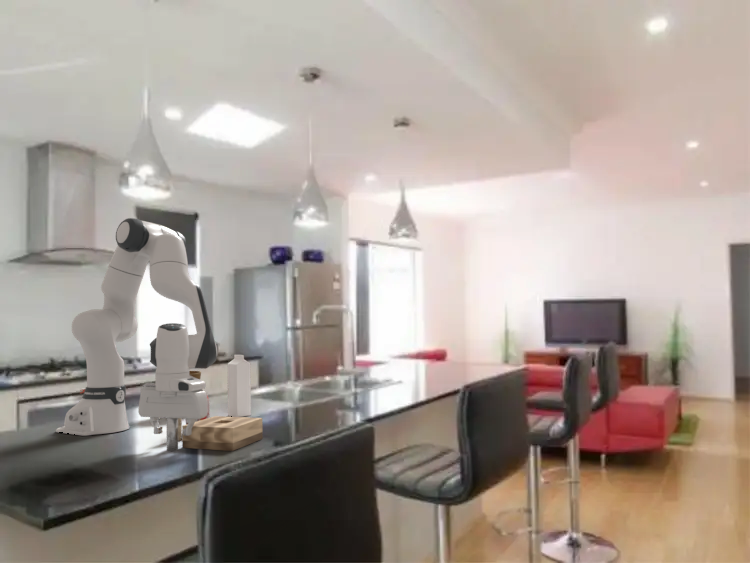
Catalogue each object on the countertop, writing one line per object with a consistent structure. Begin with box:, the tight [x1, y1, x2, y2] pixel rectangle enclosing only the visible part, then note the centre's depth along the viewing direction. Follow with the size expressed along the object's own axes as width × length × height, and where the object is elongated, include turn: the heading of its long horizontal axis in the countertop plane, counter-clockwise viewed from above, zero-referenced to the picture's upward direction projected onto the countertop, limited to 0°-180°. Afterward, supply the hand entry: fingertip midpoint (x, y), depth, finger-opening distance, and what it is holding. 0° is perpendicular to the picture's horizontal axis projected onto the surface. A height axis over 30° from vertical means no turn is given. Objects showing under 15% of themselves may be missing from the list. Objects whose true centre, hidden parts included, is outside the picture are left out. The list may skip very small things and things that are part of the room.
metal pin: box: [166, 418, 179, 452], centre depth 164 cm, size 3×3×10 cm
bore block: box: [181, 415, 264, 452], centre depth 171 cm, size 16×16×6 cm
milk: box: [227, 354, 252, 417], centre depth 219 cm, size 6×6×22 cm
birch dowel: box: [178, 418, 183, 442], centre depth 176 cm, size 3×3×9 cm
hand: (172, 434), depth 164 cm, fingers open, 8 cm apart
